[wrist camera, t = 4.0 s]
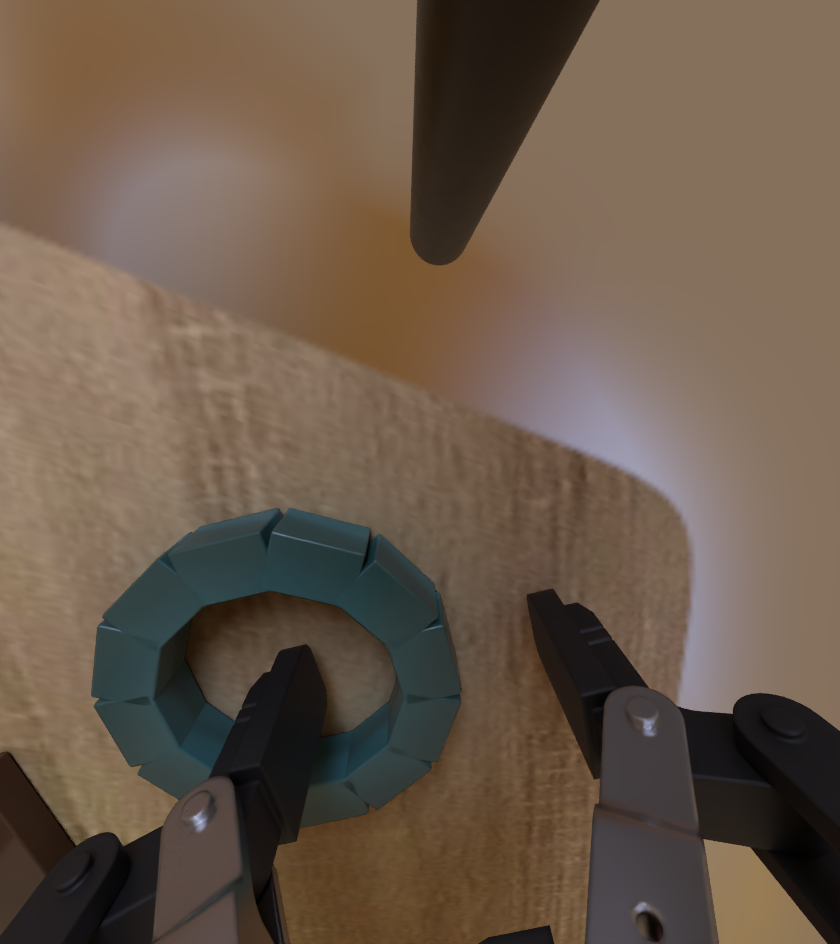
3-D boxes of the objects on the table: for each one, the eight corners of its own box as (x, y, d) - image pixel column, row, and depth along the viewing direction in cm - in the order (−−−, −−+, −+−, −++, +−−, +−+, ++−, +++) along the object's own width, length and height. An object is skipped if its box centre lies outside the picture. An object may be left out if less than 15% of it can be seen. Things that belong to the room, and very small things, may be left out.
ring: (74, 556, 11) (20, 588, 10) (409, 475, 11) (410, 494, 9) (206, 799, 14) (181, 855, 12) (478, 740, 13) (488, 789, 12)
